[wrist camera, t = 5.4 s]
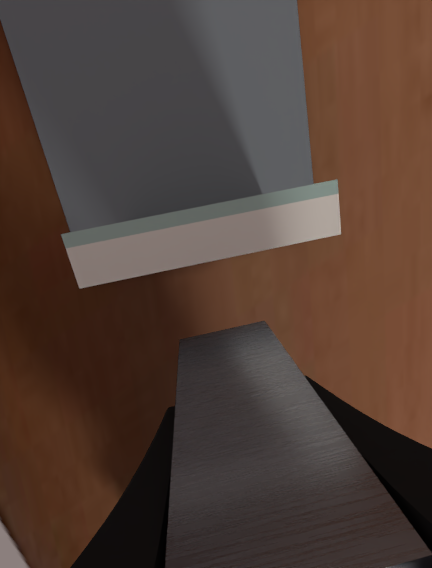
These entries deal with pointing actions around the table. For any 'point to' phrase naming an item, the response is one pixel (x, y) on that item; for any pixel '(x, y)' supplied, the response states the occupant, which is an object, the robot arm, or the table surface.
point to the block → (271, 468)
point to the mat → (162, 101)
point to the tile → (203, 234)
